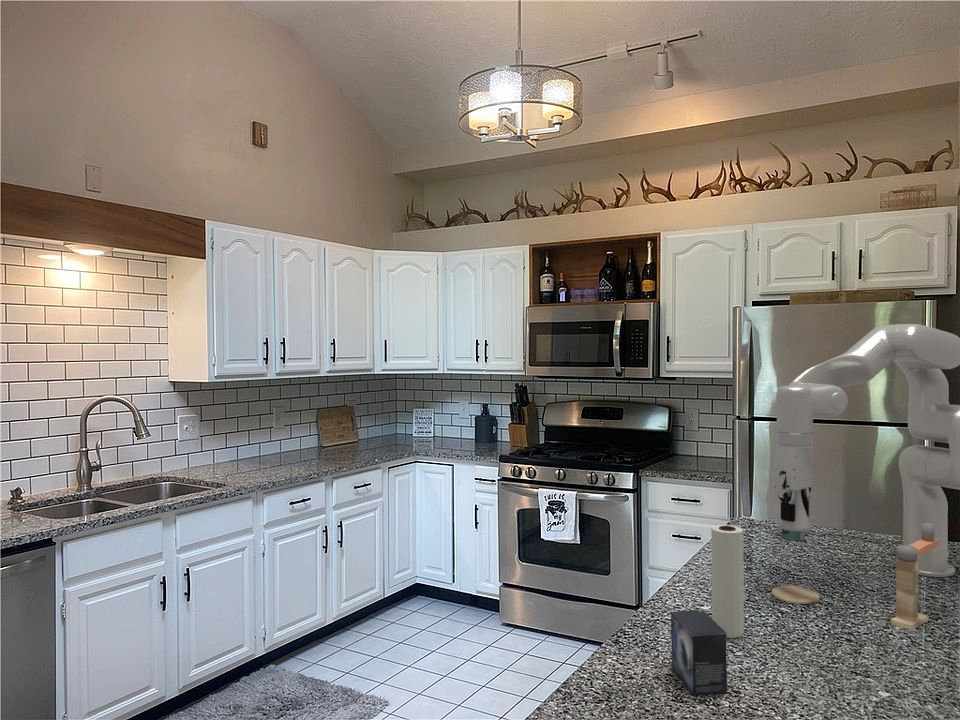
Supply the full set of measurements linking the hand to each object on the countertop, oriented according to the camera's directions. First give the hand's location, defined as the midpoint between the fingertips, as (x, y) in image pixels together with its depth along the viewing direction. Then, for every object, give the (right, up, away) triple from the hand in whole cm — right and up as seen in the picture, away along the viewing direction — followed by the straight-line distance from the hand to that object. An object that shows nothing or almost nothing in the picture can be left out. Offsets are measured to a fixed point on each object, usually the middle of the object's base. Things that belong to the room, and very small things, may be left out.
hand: (794, 517), depth 160 cm
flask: (0, -3, 0) cm, 3 cm away
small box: (-34, -20, -38) cm, 55 cm away
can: (+21, -17, +48) cm, 55 cm away
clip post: (+17, -18, -15) cm, 29 cm away
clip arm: (+21, -5, -11) cm, 25 cm away
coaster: (0, -18, 0) cm, 18 cm away
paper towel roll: (-22, -19, -19) cm, 34 cm away
